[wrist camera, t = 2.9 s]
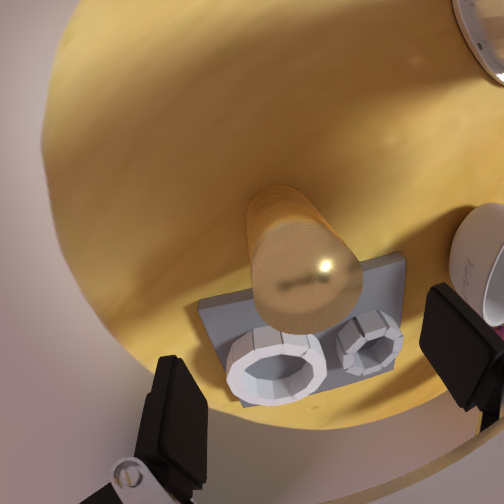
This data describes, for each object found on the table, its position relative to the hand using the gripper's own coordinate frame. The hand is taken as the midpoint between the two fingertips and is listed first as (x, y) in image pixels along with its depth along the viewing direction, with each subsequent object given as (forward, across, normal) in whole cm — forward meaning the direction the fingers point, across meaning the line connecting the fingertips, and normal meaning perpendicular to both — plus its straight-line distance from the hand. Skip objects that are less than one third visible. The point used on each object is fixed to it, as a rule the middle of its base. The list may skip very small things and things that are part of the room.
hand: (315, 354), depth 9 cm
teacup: (+13, -22, +8) cm, 27 cm away
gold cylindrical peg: (+13, -1, 0) cm, 13 cm away
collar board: (+13, -2, +12) cm, 18 cm away
